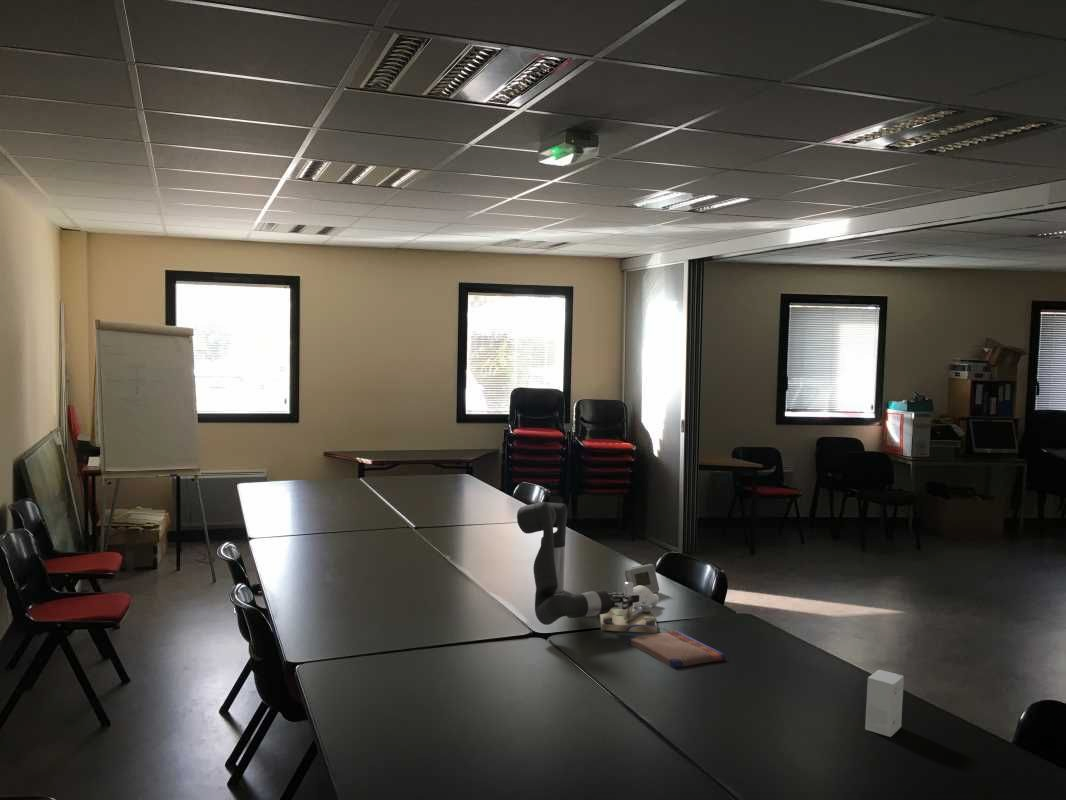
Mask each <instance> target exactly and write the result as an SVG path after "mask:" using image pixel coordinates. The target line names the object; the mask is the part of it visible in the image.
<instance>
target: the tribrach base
mask: <svg viewBox="0 0 1066 800" xmlns="http://www.w3.org/2000/svg"><path fill="white" fill-rule="evenodd" d="M634 610H635V609H632V611H634ZM598 616H599V621H600V630H601V631H607V632H608V631H610V632H611V631H613V632H627V628H628V627H629V626H631V625H653V626H657V627H658V625H657V622H656V621H657V620H656V618H655V617H654V616H655V615H654V613H653V610H652V609H651V612H650V613H643V614H641V615H640V616H638V617H636V618H634V619H633V620H631V621H629V620H625V619H624V617H623V609H622V608H611V609H610V611H609V612H608V613H606V614H600V615H598ZM657 627H652V626H635V627H631V628H630V629H629V633H630V632H631V633H632V632H633V633H649V634H658V628H657Z"/></svg>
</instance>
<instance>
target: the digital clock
mask: <svg viewBox="0 0 1066 800" xmlns="http://www.w3.org/2000/svg"><path fill="white" fill-rule="evenodd" d="M624 576H625V580H626V581H625V582H633V583H634V584H633V588H634V587H636V586H638V585H642V586H645V587H647V588H648V589H649V590H650V591H651V592H652V593H653V594H657V593H659V591H660V587H659V582H658V576H657V573H656V569H655V565H654V564H652V563H648V564H642V565H637V566H633V567H631V568H626V569H625V570H624Z"/></svg>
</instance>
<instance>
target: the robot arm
mask: <svg viewBox="0 0 1066 800" xmlns="http://www.w3.org/2000/svg"><path fill="white" fill-rule="evenodd" d="M516 520H517V525H518V527H519V529H520V530H521V532H523V533H524V534H534V533H538V532H542V531H543V534H542V535H543V536H542V537H541V539H540V547H539V549H538V551H537V554H536V556H535V559H534V563H533V569H532V570H533V577H534V583H535V597H534V612H535V616H536V619H537V621H539V623H541V624H542V625H544V626H545V625H546V626H547V625H548V626H549V625H551V624H553V623H555V622H556V621H558V620H559V619H561V618H563V617H566V618H567V617H568V618H569V619H576V618H582V617H583V618H584V617H593V616H599V615H600V614H606V613H608V612H609V611H610V609H618V608H620V607H621V609H624V610H625V609H627V608H629V607H631V606H633V603H635V602H639V595H633V596H624V592H621V591H620V592H618V591H615V590H613V591H606V590H604V589H599V590H593V591H586V592H582V593H577V594H572V595H568V594H560V593H563V592H564V589H565V588H564V586H565V585H564V584H565V563H566V562H565V561H566V559H565V558H566V555H565V554H566V536H567V535H566V533H567V523H568V522H567V520H568V506H567V505H566V504H565V503H562V502H561V503H560V502H549V501H548V502H546V501H540V502H536V503H532V504H528V505H527V504H526V505H523V506H521V507H520V508H519V509H518V510H517V515H516ZM554 528H555V529H556V530H555V532H554ZM625 599H626V600H625ZM633 607H634V606H633Z"/></svg>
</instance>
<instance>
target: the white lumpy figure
mask: <svg viewBox="0 0 1066 800" xmlns="http://www.w3.org/2000/svg"><path fill="white" fill-rule="evenodd" d="M633 595H639V602H635V603H633V607H634V608H636V609H637V606H639V605H643V604H645V606H650V605H651V606H650V607H656V606H657V605H658V603H659V601H660V598H659V596H658V595H657V593H654V594H653V593H652V592H651V591H650V590H649V589H648V588H647V587H645V586H642V585H638V586H636V587H634V588H633Z"/></svg>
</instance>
